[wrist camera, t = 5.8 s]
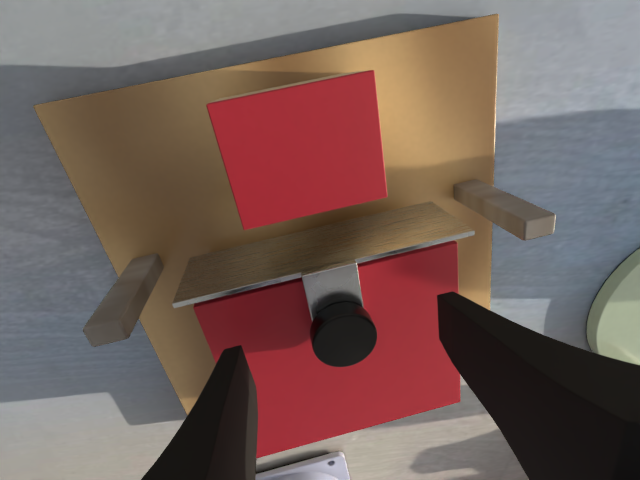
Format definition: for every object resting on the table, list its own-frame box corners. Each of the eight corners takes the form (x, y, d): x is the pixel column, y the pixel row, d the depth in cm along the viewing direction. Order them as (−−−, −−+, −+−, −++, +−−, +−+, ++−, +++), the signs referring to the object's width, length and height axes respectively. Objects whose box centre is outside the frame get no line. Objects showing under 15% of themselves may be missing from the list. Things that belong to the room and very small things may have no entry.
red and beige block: (255, 390, 20) (254, 459, 16) (206, 257, 16) (192, 307, 13) (424, 346, 21) (460, 402, 17) (415, 208, 17) (458, 242, 13)
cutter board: (198, 418, 21) (178, 532, 16) (46, 104, 14) (-91, 118, 8) (479, 343, 23) (549, 425, 17) (484, 17, 15) (613, -20, 10)
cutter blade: (216, 326, 17) (203, 405, 13) (189, 257, 15) (164, 322, 11) (434, 271, 18) (489, 330, 14) (431, 200, 16) (492, 242, 12)
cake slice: (246, 196, 15) (243, 230, 12) (218, 98, 14) (205, 103, 10) (357, 171, 16) (388, 197, 12) (344, 72, 14) (374, 69, 10)
